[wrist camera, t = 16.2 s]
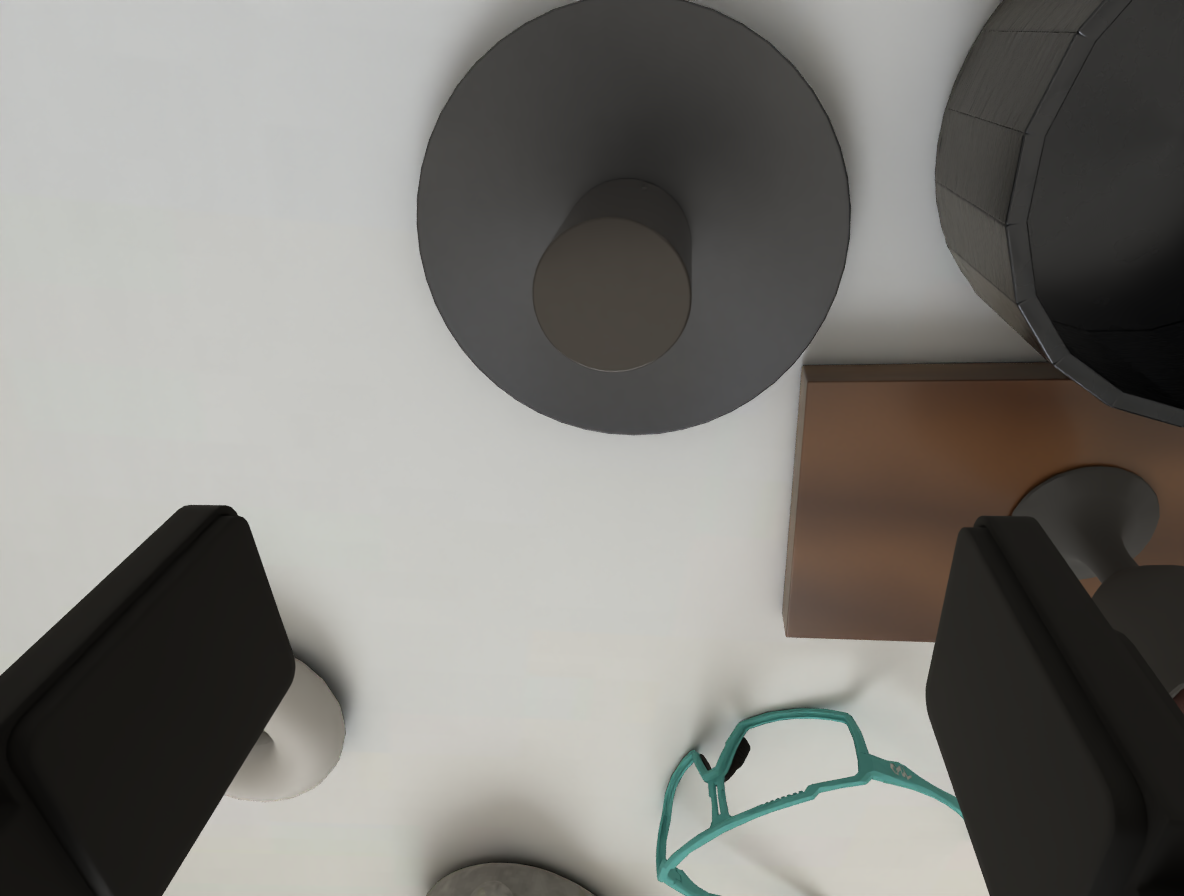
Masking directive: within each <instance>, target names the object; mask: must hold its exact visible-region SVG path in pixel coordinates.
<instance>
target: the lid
mask: <svg viewBox="0 0 1184 896" xmlns="http://www.w3.org/2000/svg"><path fill="white" fill-rule="evenodd" d="M850 218H851V204H850V194H849V184H848V176H847V172H846V168H845V164H844V159H843V155H842V151H841V147H840V145H839V142H838V140H837V137H836V135H835V132H834V129H833V127H832V124H831V122H830V119H829V117H828V115H827V114H826V112H825V110H824V108H823V107H822V105H821V103H820V101H819V100H818V98H817V96H816V94H815V93H814V91H813V90H812V88H811V87H810V86H809V84H808V83H807V82H806V81H805V79H804V78H803V77H802V75H801V74H800V73H799V72H798V70H797V69H796V68H795V67H794V65H793V64H792V63H791V62H790V61H789V60H788V59H786V58H785V57H784V56H783V55H782V54H781V53H780V52H779V51H778V50H777V49H776V48H775V47H774V46H773V45H772V44H771V43H770V42H768V41H767V40H765V39H764V38H762V37H761V36H760V35H758V34H757V33H755V32H754V31H752V30H751V29H750V28H748V27H747V26H745V25H744V24H742V23H740V22H738V21H736V20H734V19H732V18H730V17H728V16H726V15H724V14H722V13H720V12H718V11H716V10H714V9H711V8H708V7H705V6H701V5H698V4H695V3H692V2H689V1H686V0H581V1H578V2H575V3H572V4H568V5H565V6H562V7H559V8H556V9H553V10H551V11H549V12H547V13H545V14H543V15H541V16H539V17H537V18H535V19H533V20H531V21H528V22H526V23H525V24H523V25H522V26H520V27H519V28H517V29H516V30H514V31H513V32H512V33H510V34H509V35H507V36H506V37H504V38H503V39H501V40H500V41H499V42H497V43H496V44H495V45H494V46H493V47H492V48H491V49H490V50H489V51H488V52H487V53H486V54H485V55H483V56H482V57H481V58H480V59H479V60H478V61H477V62H476V63H475V64H474V66H473V67H472V68H471V69H470V70H469V72H468V73H467V74H466V75H465V77H464V78H463V79H462V80H461V82H460V83H459V84H458V85H457V87H456V88H455V90H454V92H453V93H452V95H451V97H450V98H449V100H448V102H447V103H446V105H445V106H444V108H443V110H442V111H441V113H440V116H439V118H438V120H437V123H436V125H435V127H434V130H433V132H432V134H431V137H430V139H429V142H428V146H427V149H426V153H425V157H424V160H423V164H422V167H421V174H420V180H419V187H418V194H417V231H418V240H419V250H420V255H421V259H422V264H423V268H424V272H425V276H426V280H427V283H428V285H429V288H430V291H431V293H432V296H433V299H434V302H435V304H436V306H437V308H438V310H439V312H440V314H441V316H442V318H443V320H444V322H445V324H446V326H447V328H448V329H449V331H450V332H451V334H452V335H453V337H454V338H455V340H456V341H457V343H458V344H459V346H460V347H461V349H462V350H463V351H464V352H465V353H466V355H467V356H468V357H469V358H470V359H471V360H472V362H473V363H474V364H475V365H476V366H477V367H478V369H479V370H481V371H482V372H483V373H484V374H485V375H486V376H487V377H488V378H489V379H490V380H491V381H492V382H493V383H495V384H496V385H497V386H498V387H499V388H501V389H502V390H503V391H505V392H506V393H508V394H509V395H510V396H512V397H513V398H514V399H516V400H517V401H519V402H521V403H522V404H524V405H526V406H528V407H529V408H531V409H533V410H535V411H536V412H538V413H540V414H543V415H545V416H547V417H550V418H552V419H554V420H557V421H559V422H561V423H565V424H568V425H572V426H575V427H578V428H582V429H585V430H591V431H596V432H602V433H608V434H622V435H646V434H660V433H666V432H671V431H677V430H683V429H686V428H690V427H693V426H696V425H700V424H703V423H706V422H709V421H711V420H714V419H716V418H718V417H721V416H723V415H725V414H727V413H730V412H732V411H733V410H735V409H737V408H739V407H740V406H742V405H744V404H745V403H747V402H749V401H751V400H752V399H754V398H755V397H756V396H758V395H759V394H760V393H762V392H763V391H764V390H766V389H767V388H768V387H770V386H771V385H772V384H774V383H775V382H776V381H777V380H778V379H779V378H780V377H781V376H782V375H783V374H784V373H785V372H786V371H787V370H788V369H789V368H790V367H791V366H792V365H793V364H794V363H795V362H796V360H797V359H798V358H799V357H800V355H801V354H802V353H803V352H804V350H805V349H806V348H807V347H808V346H809V344H810V343H811V341H812V340H813V338H814V336H815V335H816V333H817V332H818V330H819V328H820V327H821V325H822V323H823V322H824V320H825V318H826V316H827V314H828V312H829V309H830V307H831V305H832V303H833V301H834V298H835V296H836V294H837V291H838V287H839V284H840V281H841V278H842V274H843V271H844V268H845V263H846V257H847V251H848V245H849V239H850Z"/></svg>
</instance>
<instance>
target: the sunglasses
mask: <svg viewBox="0 0 1184 896" xmlns="http://www.w3.org/2000/svg"><path fill="white" fill-rule="evenodd" d="M788 719H823V720H832V721H837V722H842V723H845V724H847V726H848V728H849V730H850V733H851V735H852V737H853V740H854V742H855V743H854V744H855V747H856V748H855V749H856V752H857V753H856V754H857V759H858V773H857V774H856V775H855V776H852V777H847V778H842V779H837V780H832V781H826V782H821V783H816V784H812V785H809V786H808V787H807V788H806V790H805V792H803V791H799V793H798V794H797V793H793V795H787V797H781V799H779V798H778V799H776V800H775V801H774V800H772V801H770V802H769V803H768V802H767V803H765V804H761V805H759V806H757V807H754V808H752V809H750V810H747V811H745V812H742V813H740V814H738V815H735V816H733V817H732V816H730V815H729V812H728V807H727V802H726V796H725V787H724V782H726V781H727V780H729V779H730V777H731V776H732V775H733V774H734V773H735V771H736V770H737V769H738V768H740V767H741V766H742V764H743V763H744V762H743V761H745V759H746V757H747V755H748V753H749V751H750V745H749V743H748V742H747V740H746V739H745V738H744V735H745V734H746V732H747V731H748V730H749V729H751V728H754V727H757V726H760V725H763V724H766V723H771V722H775V721H779V720H788ZM693 763H695V765H696V767H697V769H698V771H699V773H700V775H701V777H702V779H703V780H704V782H706V783H708V788H709V797H711V801H712V823H711V826H710V828H709V829H707V830H705V831H703V832H702V833H700V834H698V835H697V836H696V837H694V838H693V839H691V840H690V841H689V842H687V843H686V844H685V845H684V846H682V847H681V848H680V849H679V850H677V851H676V852H675V853H673V854H672V855H671V857H670V858H669V859H668V860H666V841H667V835H668V831H669V826H670V821H671V813H672V804H673V798H674V794H675V790H676V787H677V785H678V783H679V781H680V780H681V778H682V776H683V774H684V773H685V771H686V770H687V769H688V768H689V767H690V766H691V765H692V764H693ZM871 779H873V780H877V781H881V782H883V783H889V784H893V785H897V786H901V787H904V788H908V789H912V790H915V791H917V792H920V793H923V794H925V795H928V796H930V797H933V798H935V799H937V800H938V801H940V802H942V803H944V804H946V805H947V806H949V807H950V808H951V809H953V810H954V811H956V812H957V813H958V814H959V815H960V816H961V817H962V818H963V815H962V812H961V810H960V807H959V804H958V801H957V798H956V797H955V796H953V795H951V794H949V793H946V792H945V791H943V790H941V789H939V788H937V787H935V786H933V785H932V784H930V783H929V782H927V781H925V780H924V779H922V778H921V777H919V776H918V775H916V774H915V773H914V772H912V771H911V770H910V769H908V768H907V767H906V766H904V765H902V764H900V763H899V762H893V761H887V760H884V759H881V758H879V757H876V756H873V755H871V754H869V753H868V750H867V747H866V744H865V741H864V738H863V736H862V733H861V731H860V729H859V727H858V726H857V724H856V722H855V721H854V719H853V717H852V716H850V715H849V714H848V713H844V712H840V711H835V710H828V709H815V708H797V709H789V710H782V711H774V712H767V713H764V714H761V715H758V716H755V717H752V718H750V719H747V720H744V721H742V722H739V724H738V725H737V726H736V727H735V729H734V730H733V732H732V734H731V735H730V737H729V738H728V740H727V741H726V744H725V747H724V749H723V751H722V753H721V755H720V757H719V759H718V762H717V764H716V767H714V768H712V769H711V767H710V765H709V763H708V761H707V760H706V758H705V757H704V755H702V754H699V753H698V752H696V751H695V750H692V751H690V752H689V753H688V754H687V755H686V756H685V757H684V758H683V759H682V761H681V762H680V764H679V765H678V767H677V769H676V770H675V772H674V773H673V775H672V776H671V779H670V782H669V785H668V787H667V790H666V793H665V797H664V804H663V811H662V817H661V822H660V827H659V832H658V840H657V849H656V867H657V879H658V881H660V882H664V883H665V884H667V885H668V886H670V887H671V888H673V889H675V890H676V891H678V892H680V893H682V894H683V895H685V896H720V895H715V894H711V893H708V892H706V891H704V890H703V889H701V888H699V887H698V886H697V885H695V884H694V883H693V882H692V881H691V880H690V879H689V878H688V876H687V875H686V874H685V873H684V871H683V870H679V869H678V868H676V866H677V865H678V864H679V863H680V862H681V861H682V860H683V859H684V858H685V857H686V856H687V855H688V854H689V853H691V852H692V851H694V850H695V849H697V848H699V847H701V846H702V845H704V844H706V843H707V842H709V841H711V840H712V839H714V838H716V837H717V836H719V835H721V834H722V833H724V832H726V831H728V830H731V829H733V828H735V827H737V826H739V825H742V824H744V823H746V822H748V821H751V820H753V819H755V818H758V817H760V816H763V815H765V814H768V813H771V812H774V811H777V810H780V809H783V808H787V807H790V806H793V805H796V804H799V803H803V802H806V801H810V800H813V799H814V798H815V797H816V796H817V795H818V794H819V793H821V792H826V791H830V790H835V789H839V788H846V787H852V786H859V785H865V784H867V783H868V782H869V781H870V780H871ZM716 786H717V789H718V799H719V805H720V812H721V814H720V815H719V814H718V804H717V795H716ZM963 819H964V818H963Z"/></svg>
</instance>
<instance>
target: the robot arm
mask: <svg viewBox="0 0 1184 896" xmlns="http://www.w3.org/2000/svg"><path fill="white" fill-rule="evenodd" d="M295 669H296V666H295V658H294V655H293V652H292V649H291V646H290V643H289V640H288V637H287V634H286V631H285V629H284V626H283V623H282V620H281V617H280V614H279V611H278V608H277V605H276V602H275V599H274V597H273V594H272V591H271V588H270V585H269V582H268V579H267V576H266V573H265V570H264V567H263V565H262V562H261V559H260V556H259V553H258V550H257V547H256V544H255V541H254V538H253V535H252V533H251V530H250V527H249V524H248V522H247V521H246V520H245V519H244V518H243V517H240V516H238V515H237V513H236V511H235V510H234V509H233V508H232V507H229V506H226V505H188V506H184V507H182V508H180V509H179V510H178V511H177V512H175V513H174V514H173V515H172V516H171V517H170V518H169V519H168V520H167V521H166V522H165V523H164V524H163V525H161V526H160V527H159V528H158V529H157V530H156V531H155V532H154V533H153V534H152V535H151V536H150V537H149V538H148V539H146V540H145V541H144V542H143V543H142V544H141V545H140V546H139V547H138V548H137V549H136V550H135V551H134V552H133V553H131V554H130V555H129V556H128V557H127V558H126V559H125V560H124V561H123V562H122V563H121V564H120V565H119V566H118V567H116V568H115V569H114V570H113V571H112V572H111V573H110V574H109V575H108V576H107V577H106V578H105V579H104V580H102V581H101V582H100V583H99V584H98V585H97V586H96V587H95V588H94V589H93V590H92V591H91V592H90V593H89V594H87V595H86V596H85V597H84V598H83V599H82V600H81V601H80V602H79V603H78V604H77V605H76V606H75V607H74V608H72V609H71V610H70V611H69V612H68V613H67V614H66V615H65V616H64V617H63V618H62V619H61V620H60V621H59V622H57V623H56V624H55V625H54V626H53V627H52V628H51V629H50V630H49V631H48V632H47V633H46V634H45V635H43V636H42V637H41V638H40V639H39V640H38V641H37V642H36V643H35V644H34V645H33V646H32V647H31V648H30V649H28V650H27V651H26V652H25V653H24V654H23V655H22V656H21V657H20V658H19V659H18V660H17V661H16V662H15V663H13V664H12V665H11V666H10V667H9V668H8V669H7V670H6V671H5V672H4V673H3V674H2V675H1V676H0V896H162V895H163V893H164V892H165V890H166V888H167V887H168V885H169V884H170V882H171V880H172V879H173V877H174V875H175V874H176V872H177V870H178V869H179V867H180V866H181V864H182V862H183V861H184V859H185V857H186V856H187V854H188V853H189V851H190V849H191V848H192V846H193V844H194V843H195V841H196V840H197V838H198V836H199V835H200V833H201V831H202V830H203V828H204V826H205V825H206V823H207V822H208V820H209V818H210V817H211V815H212V813H213V812H214V810H215V809H216V807H217V805H218V804H219V802H220V800H221V799H222V797H223V796H224V794H225V792H226V791H227V789H228V787H229V786H230V784H231V783H232V781H233V779H234V778H235V776H236V774H237V773H238V771H239V769H240V768H241V766H242V765H243V763H244V761H245V760H246V758H247V756H248V755H249V753H250V752H251V750H252V748H253V747H254V745H255V743H256V742H257V740H258V739H259V737H260V735H261V734H262V732H263V730H264V729H265V727H266V725H267V724H268V722H269V721H270V719H271V717H272V716H273V714H274V712H275V711H276V709H277V708H278V706H279V704H280V703H281V701H282V699H283V698H284V696H285V695H286V693H287V691H288V690H289V688H290V686H291V684H292V682H293V679H294V676H295ZM926 706H927V712H928V715H929V719H930V722H931V725H932V728H933V730H934V733H935V736H936V739H937V742H938V745H939V748H940V751H941V754H942V757H943V760H944V763H945V766H946V769H947V771H948V774H949V777H950V780H951V783H952V786H953V789H954V792H955V795H956V798H957V801H958V804H959V807H960V810H961V812H962V815H963V818H964V821H965V824H966V827H967V830H968V833H969V836H970V839H971V842H972V845H973V848H974V851H975V853H976V856H977V859H978V862H979V865H980V868H981V871H982V874H983V877H984V880H985V883H986V886H987V889H988V892H989V894H990V896H1184V714H1183V713H1182V711H1181V710H1180V708H1179V707H1178V706H1177V704H1176V703H1175V701H1174V700H1173V699H1172V697H1171V696H1170V694H1169V693H1168V692H1167V690H1166V689H1165V687H1164V686H1163V685H1162V683H1161V682H1160V680H1159V679H1158V678H1157V676H1156V675H1155V673H1154V672H1153V671H1152V669H1151V668H1150V666H1149V665H1148V664H1147V662H1146V661H1145V659H1144V658H1143V657H1142V655H1141V654H1140V652H1139V651H1138V650H1137V648H1136V647H1135V645H1134V644H1133V643H1132V642H1131V641H1130V640H1129V639H1128V638H1127V637H1126V636H1125V634H1123V633H1121V632H1119V631H1117V630H1115V629H1113V628H1112V627H1111V625H1110V624H1109V622H1108V621H1107V620H1106V618H1105V617H1104V615H1103V614H1102V612H1101V611H1100V610H1099V608H1098V607H1097V605H1096V604H1095V602H1094V601H1093V600H1092V598H1091V597H1090V595H1089V594H1088V592H1087V591H1086V590H1085V588H1084V587H1083V585H1082V584H1081V582H1080V581H1079V579H1078V578H1077V577H1076V575H1075V574H1074V572H1073V571H1072V569H1071V568H1070V567H1069V565H1068V564H1067V562H1066V561H1065V559H1064V558H1063V557H1062V555H1061V554H1060V552H1059V551H1058V549H1057V548H1056V547H1055V545H1054V544H1053V542H1052V541H1051V539H1050V538H1049V537H1048V535H1047V534H1046V532H1045V531H1044V529H1043V528H1042V527H1041V525H1040V524H1039V522H1038V521H1037V520H1036V519H1035V518H1033V517H1030V516H980V517H978V518H977V520H976V521H975V523H974V526H973V527H963V528H961V530H960V531H959V533H958V537H957V541H956V545H955V550H954V555H953V560H952V564H951V569H950V574H949V579H948V583H947V588H946V593H945V598H944V603H943V607H942V612H941V617H940V622H939V626H938V631H937V636H936V641H935V645H934V650H933V655H932V660H931V664H930V669H929V674H928V679H927V684H926Z"/></svg>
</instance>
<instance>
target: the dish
mask: <svg viewBox="0 0 1184 896" xmlns="http://www.w3.org/2000/svg"><path fill="white" fill-rule="evenodd" d="M426 896H594V895H593V894H592V893H590V892H589V891H588V890H586V889H584V888H583V887H581V886H579V885H578V884H576V883H574V882H572V881H570V880H568V879H566V878H564V877H561V876H559V875H557V874H555V873H552V872H549V871H546V870H543V869H540V868H537V867H532V866H527V865H523V864H515V863H485V864H479V865H474V866H469V867H466V868H463V869H460V870H457V871H455V872H453V873H451V874H449V875H447V876H445V877H444V878H443V879H441V880H440V881H438V882H437V883H436V884H435V885H434V887H433V888H432V889H431V890H430V891H429V892H428V894H427V895H426Z"/></svg>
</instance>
